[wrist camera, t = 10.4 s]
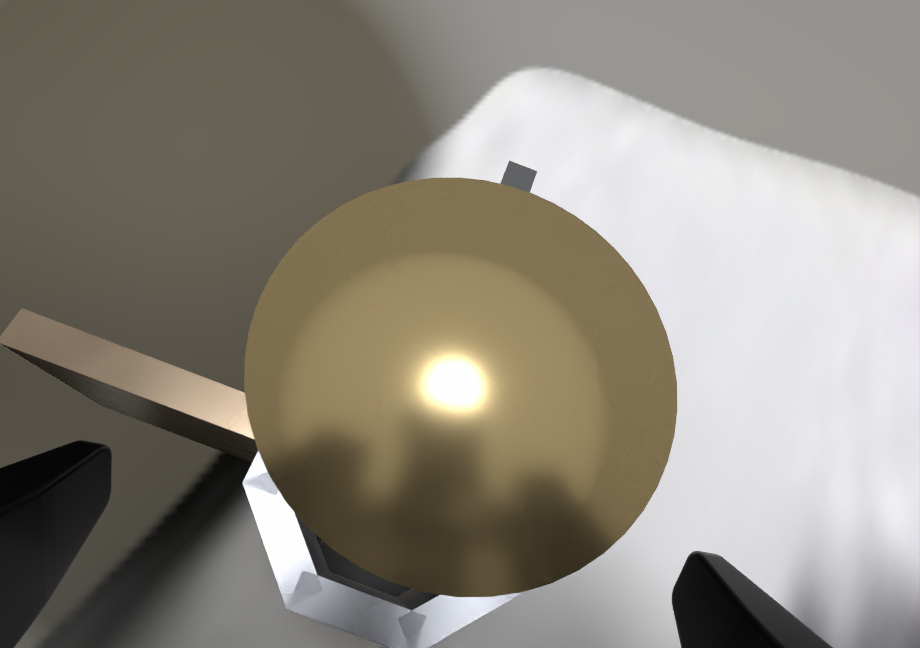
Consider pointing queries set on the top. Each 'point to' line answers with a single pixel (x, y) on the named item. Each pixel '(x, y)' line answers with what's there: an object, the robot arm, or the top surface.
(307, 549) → the bronze hinge
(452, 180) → the hinge pin
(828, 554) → the top surface
